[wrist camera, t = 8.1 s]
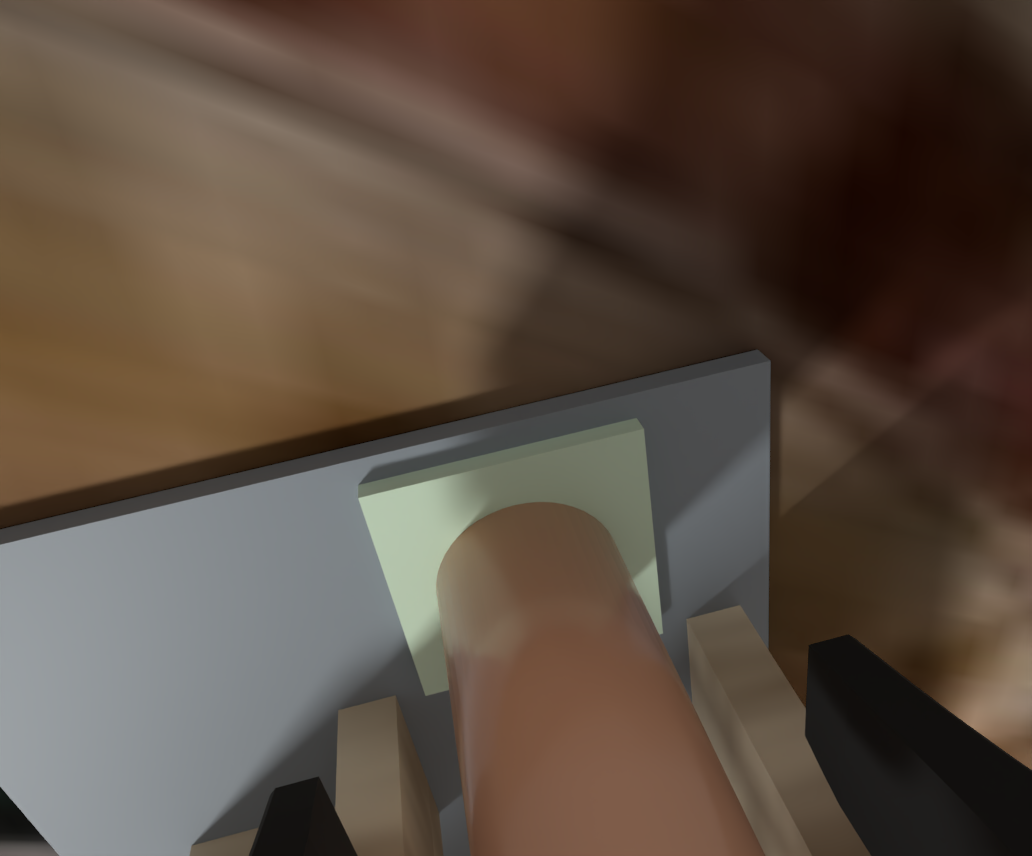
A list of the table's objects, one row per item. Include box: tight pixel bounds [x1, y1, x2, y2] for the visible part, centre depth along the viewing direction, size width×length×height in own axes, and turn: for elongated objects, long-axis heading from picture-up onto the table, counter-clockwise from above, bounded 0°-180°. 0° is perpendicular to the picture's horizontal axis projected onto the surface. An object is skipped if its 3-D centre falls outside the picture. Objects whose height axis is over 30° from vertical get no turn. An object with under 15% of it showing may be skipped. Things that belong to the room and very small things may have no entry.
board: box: [0, 350, 771, 856], centre depth 18 cm, size 18×16×1 cm
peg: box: [436, 502, 765, 856], centre depth 11 cm, size 4×4×8 cm
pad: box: [358, 418, 663, 696], centre depth 14 cm, size 5×5×1 cm
